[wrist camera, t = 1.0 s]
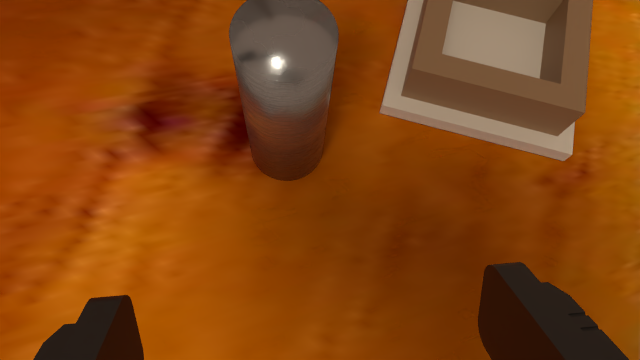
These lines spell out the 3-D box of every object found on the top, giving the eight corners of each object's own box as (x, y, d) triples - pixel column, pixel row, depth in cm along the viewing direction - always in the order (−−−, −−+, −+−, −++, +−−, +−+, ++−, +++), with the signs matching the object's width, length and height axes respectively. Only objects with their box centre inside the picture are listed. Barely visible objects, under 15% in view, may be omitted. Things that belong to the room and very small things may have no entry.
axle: (241, 169, 29) (213, 63, 19) (263, 108, 30) (248, -22, 20) (311, 189, 29) (322, 91, 18) (330, 126, 30) (349, 4, 20)
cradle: (379, 112, 31) (391, 78, 27) (414, -26, 35) (428, -73, 31) (563, 161, 30) (601, 132, 27) (576, 14, 35) (610, -28, 31)
